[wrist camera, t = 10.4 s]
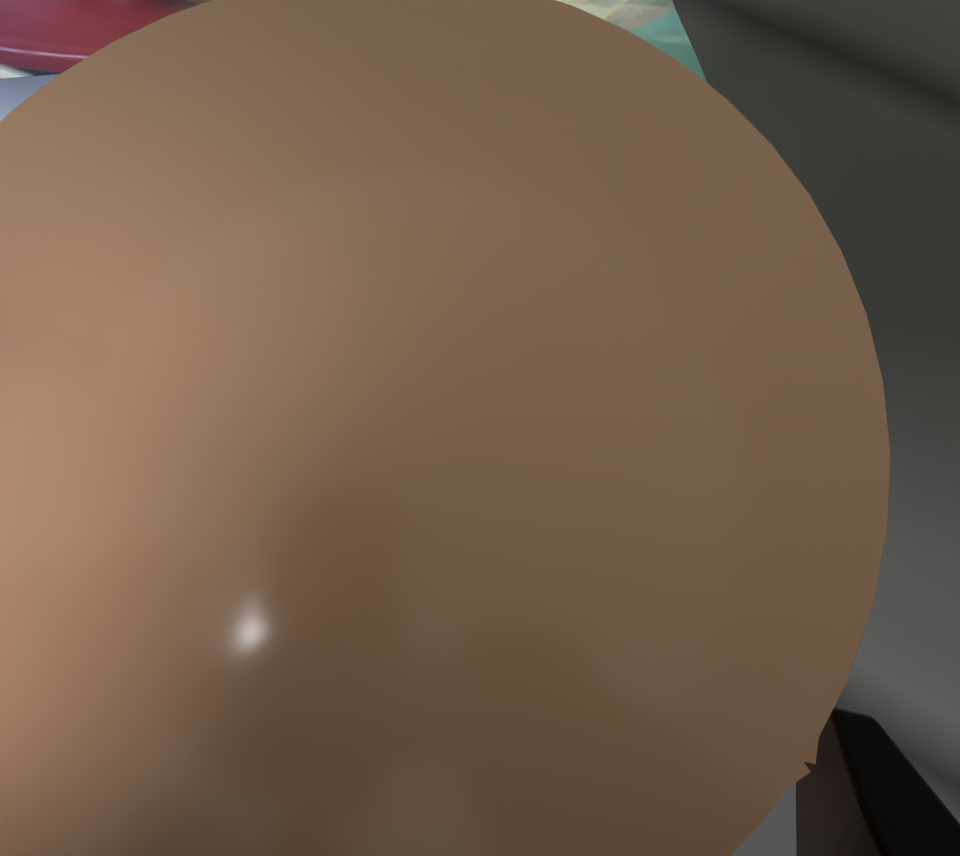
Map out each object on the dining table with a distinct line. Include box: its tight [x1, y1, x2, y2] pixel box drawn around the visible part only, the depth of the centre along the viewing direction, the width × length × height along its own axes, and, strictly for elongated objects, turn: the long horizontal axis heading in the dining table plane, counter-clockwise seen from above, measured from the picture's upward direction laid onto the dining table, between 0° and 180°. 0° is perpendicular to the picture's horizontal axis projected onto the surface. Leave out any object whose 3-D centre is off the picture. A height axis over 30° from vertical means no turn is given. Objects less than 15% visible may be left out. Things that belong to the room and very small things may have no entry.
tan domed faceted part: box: [0, 0, 890, 856], centre depth 11 cm, size 7×7×12 cm
